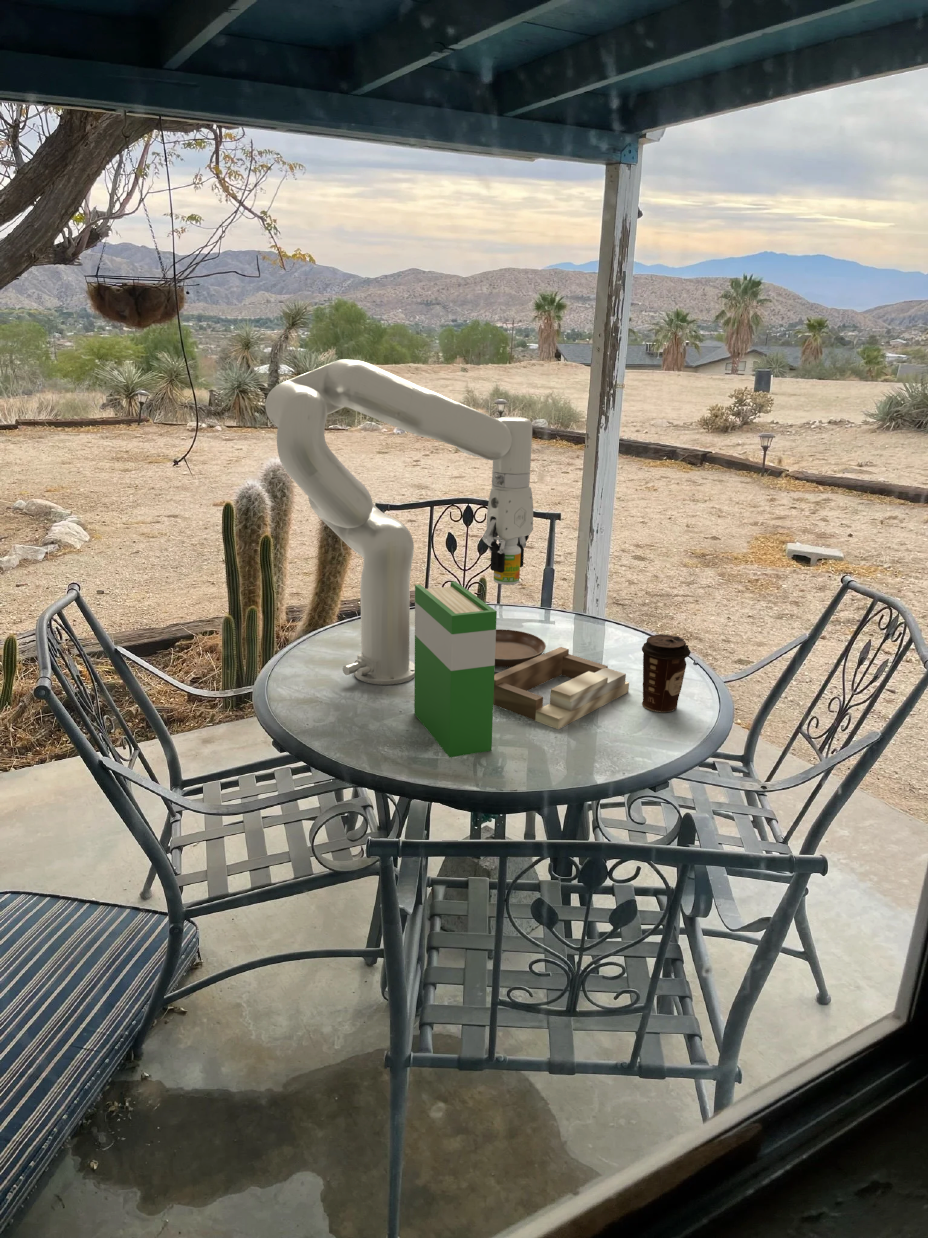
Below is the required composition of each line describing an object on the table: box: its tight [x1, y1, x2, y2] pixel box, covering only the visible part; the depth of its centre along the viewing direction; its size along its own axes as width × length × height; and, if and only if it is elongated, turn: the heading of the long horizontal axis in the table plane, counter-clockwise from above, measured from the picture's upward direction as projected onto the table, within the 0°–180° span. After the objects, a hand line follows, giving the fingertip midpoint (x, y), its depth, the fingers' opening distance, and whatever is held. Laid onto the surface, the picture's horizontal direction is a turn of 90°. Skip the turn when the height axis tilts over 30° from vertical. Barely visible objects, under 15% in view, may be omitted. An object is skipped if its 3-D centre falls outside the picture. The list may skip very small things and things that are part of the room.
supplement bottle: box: [493, 538, 521, 586], centre depth 174 cm, size 5×5×10 cm
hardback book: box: [413, 581, 498, 758], centre depth 142 cm, size 18×7×24 cm, turn 22°
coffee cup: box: [641, 633, 692, 713], centre depth 156 cm, size 9×8×13 cm
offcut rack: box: [493, 646, 630, 730], centre depth 160 cm, size 23×16×5 cm
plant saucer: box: [495, 628, 547, 668], centre depth 181 cm, size 18×18×3 cm
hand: (506, 567), depth 175 cm, fingers closed on supplement bottle, 5 cm apart
